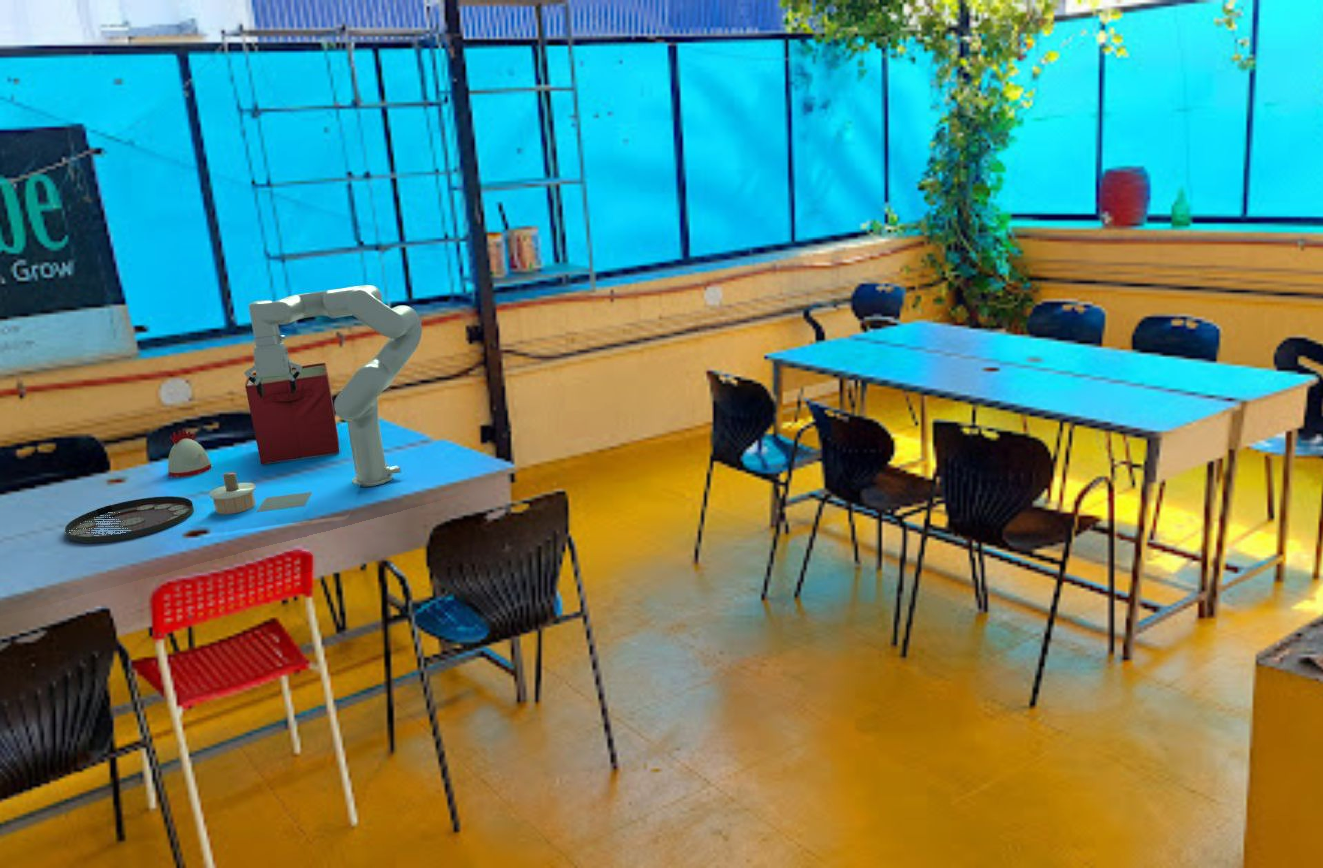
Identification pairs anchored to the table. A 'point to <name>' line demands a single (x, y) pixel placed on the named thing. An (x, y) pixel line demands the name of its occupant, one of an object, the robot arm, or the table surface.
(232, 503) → the bowl
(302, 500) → the mat
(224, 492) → the lid
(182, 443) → the beanie hat
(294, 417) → the storage cube
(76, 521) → the palette wheel
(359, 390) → the robot arm
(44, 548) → the table surface
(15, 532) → the table surface
